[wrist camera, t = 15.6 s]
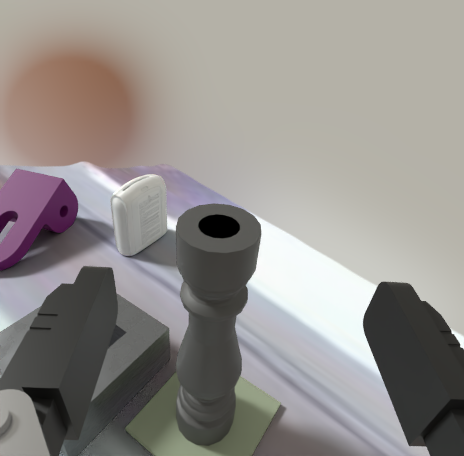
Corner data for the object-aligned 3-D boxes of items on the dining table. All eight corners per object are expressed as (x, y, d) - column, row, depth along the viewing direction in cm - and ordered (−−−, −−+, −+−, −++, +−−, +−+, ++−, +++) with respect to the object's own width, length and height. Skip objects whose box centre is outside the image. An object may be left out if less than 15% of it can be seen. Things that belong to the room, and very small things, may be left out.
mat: (219, 513, 31) (219, 511, 30) (125, 430, 36) (125, 427, 35) (279, 405, 39) (280, 402, 39) (197, 350, 44) (197, 347, 44)
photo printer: (153, 224, 66) (150, 165, 59) (170, 232, 65) (169, 172, 58) (112, 250, 59) (103, 187, 52) (131, 260, 57) (123, 196, 50)
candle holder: (167, 436, 35) (156, 243, 21) (187, 381, 40) (189, 195, 26) (226, 453, 34) (257, 264, 20) (238, 395, 39) (271, 210, 25)
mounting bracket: (32, 292, 58) (83, 205, 66) (1, 272, 50) (63, 178, 59) (-15, 278, 59) (41, 196, 68) (-51, 258, 52) (16, 168, 60)
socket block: (70, 462, 33) (58, 433, 29) (-8, 380, 39) (-26, 348, 35) (170, 359, 43) (168, 328, 39) (95, 306, 49) (89, 275, 45)
